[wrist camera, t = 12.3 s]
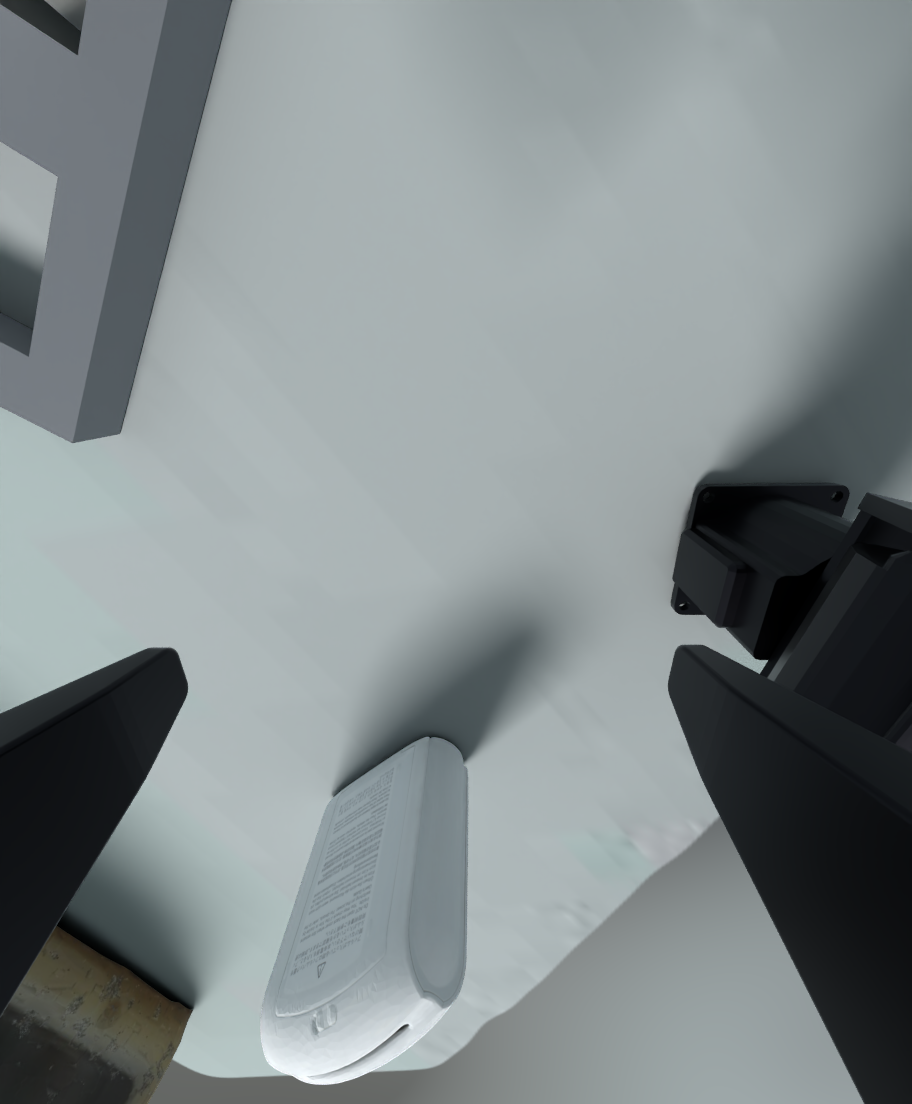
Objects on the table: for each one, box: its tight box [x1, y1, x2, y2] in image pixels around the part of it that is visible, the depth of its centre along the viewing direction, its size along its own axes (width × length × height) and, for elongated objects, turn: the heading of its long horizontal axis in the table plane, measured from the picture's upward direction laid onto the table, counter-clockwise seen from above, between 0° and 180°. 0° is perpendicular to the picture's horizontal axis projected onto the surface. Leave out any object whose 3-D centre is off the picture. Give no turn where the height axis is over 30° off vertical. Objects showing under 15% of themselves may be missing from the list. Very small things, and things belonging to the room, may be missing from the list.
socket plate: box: [0, 0, 231, 443], centre depth 14 cm, size 10×20×3 cm, turn 150°
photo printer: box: [260, 737, 468, 1085], centre depth 22 cm, size 10×4×12 cm, turn 133°
